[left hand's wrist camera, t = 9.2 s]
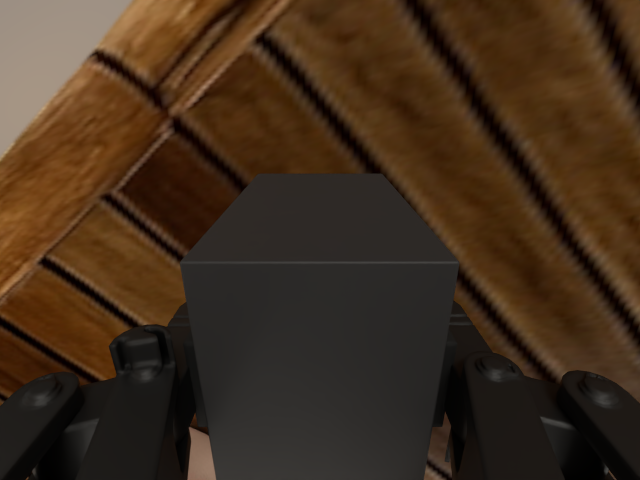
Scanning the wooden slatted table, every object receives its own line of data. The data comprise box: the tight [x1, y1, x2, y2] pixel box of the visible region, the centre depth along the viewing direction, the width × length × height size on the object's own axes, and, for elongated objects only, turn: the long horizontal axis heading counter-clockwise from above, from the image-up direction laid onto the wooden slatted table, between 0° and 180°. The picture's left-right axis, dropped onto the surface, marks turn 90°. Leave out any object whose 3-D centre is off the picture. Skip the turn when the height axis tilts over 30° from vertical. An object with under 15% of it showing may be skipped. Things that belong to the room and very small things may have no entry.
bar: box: [180, 174, 459, 480], centre depth 14 cm, size 22×5×8 cm, turn 0°
